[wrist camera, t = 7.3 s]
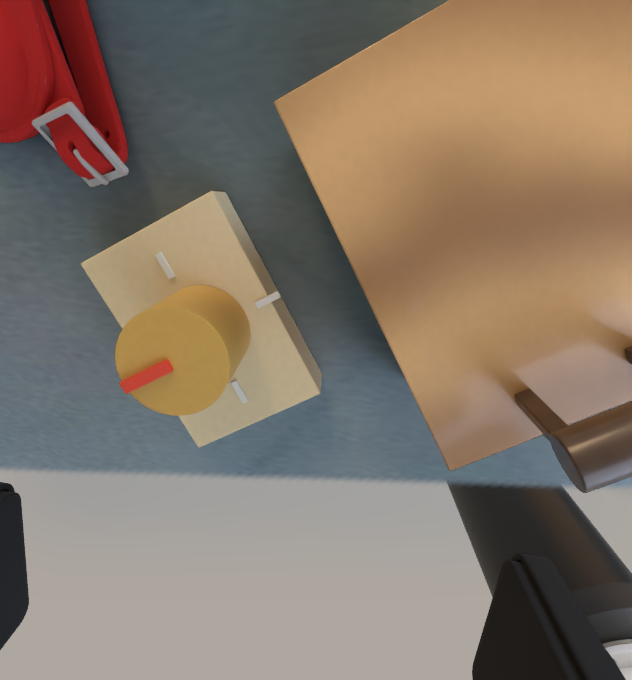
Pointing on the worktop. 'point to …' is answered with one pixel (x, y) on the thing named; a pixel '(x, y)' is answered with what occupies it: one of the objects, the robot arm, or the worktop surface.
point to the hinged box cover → (492, 218)
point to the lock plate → (229, 276)
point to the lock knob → (183, 350)
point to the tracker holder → (59, 87)
